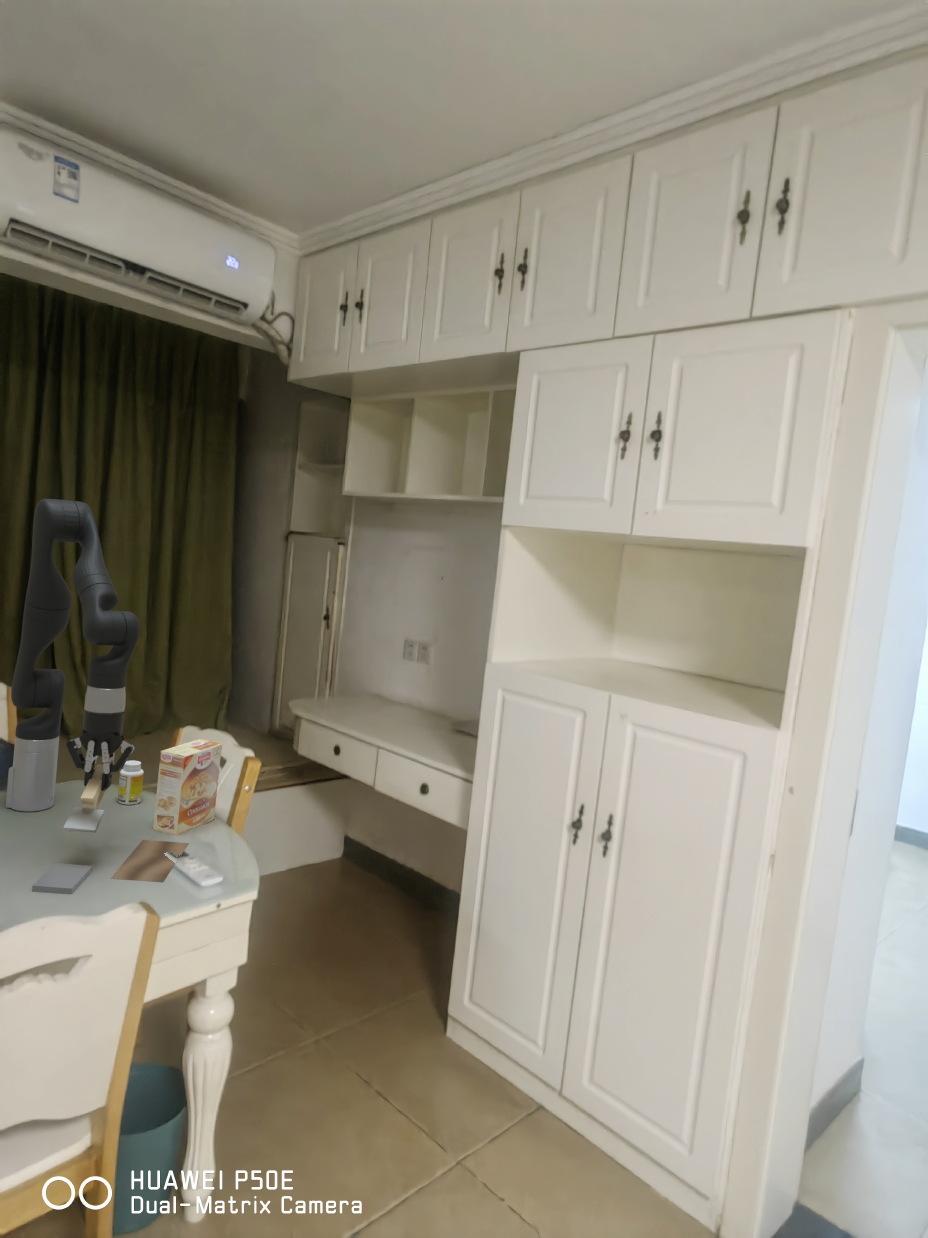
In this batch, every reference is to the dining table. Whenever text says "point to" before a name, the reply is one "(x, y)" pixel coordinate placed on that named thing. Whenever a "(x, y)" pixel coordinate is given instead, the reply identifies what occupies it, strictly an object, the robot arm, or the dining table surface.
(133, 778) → the supplement bottle
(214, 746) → the coffeecake box
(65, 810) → the dining table surface
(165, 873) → the board
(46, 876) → the glazed tile
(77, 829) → the turner
